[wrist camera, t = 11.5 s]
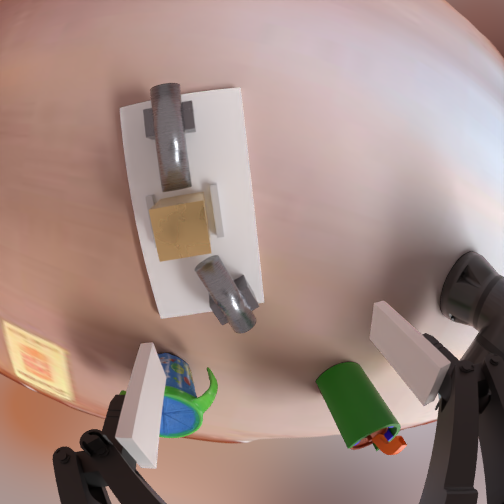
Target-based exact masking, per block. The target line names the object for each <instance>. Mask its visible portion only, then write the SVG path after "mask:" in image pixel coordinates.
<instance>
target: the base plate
mask: <svg viewBox="0 0 504 504" xmlns="http://www.w3.org/2000/svg"><path fill="white" fill-rule="evenodd" d="M181 100H182V102H185V101H191V100H192V103H193V109H194V118H195V127H196V132H192V133H186V134H185V137H186V145H187V153H188V161H189V168H190V176H191V183H192V187H189V188H185V189H180V190H175V191H168V192H162V187H161V180H160V174H159V167H158V160H157V152H156V144H155V139H154V140H152V139H149V138H146V134H145V124H144V114H143V110H144V109H148V108H152V107H151V100H150V101H145V102H141V103H137V104H133V105H129V106H125V107H121V108H120V119H121V129H122V139H123V147H124V155H125V163H126V169H127V176H128V182H129V188H130V194H131V200H132V205H133V210H134V216H135V220H136V225H137V230H138V235H139V239H140V244H141V248H142V252H143V256H144V260H145V264H146V268H147V272H148V276H149V280H150V283H151V287H152V291H153V294H154V298H155V301H156V304H157V308H158V311H159V314H160V317H161V319H163V318H170V317H178V316H185V315H192V314H198V313H205V312H211V311H212V310H211V308H210V305H209V292H208V291H207V289H206V288H205V286H204V285H203V283H202V282H201V280H200V278H199V277H198V275H197V274H196V272H195V267H196V266H197V265H198V264H199V263H200V262H202V261H203V260H205V259H206V258H208V257H211V256H214V255H218V256H219V257H220V259H221V261H222V262H223V264H224V266H225V267H226V269H227V271H228V272H229V274H230V276H231V278H232V279H233V280H235V279H237V278H239V277H241V276H243V275H244V276H245V278H246V280H247V282H248V283H249V285H250V287H251V289H252V290H253V292H254V294H255V297H256V299H257V302H258V303H264V294H263V284H262V275H261V265H260V256H259V247H258V237H257V228H256V219H255V210H254V200H253V191H252V182H251V174H250V165H249V156H248V147H247V138H246V130H245V121H244V112H243V104H242V95H241V87H238V88H227V89H217V90H209V91H201V92H194V93H187V94H181ZM198 192H204V198H205V205H206V212H207V218H208V225H209V231H210V241H211V252H212V253H211V254H205V255H199V256H192V257H186V258H180V259H174V260H168V261H162V262H160V261H159V257H158V252H157V248H156V243H155V238H154V234H153V229H152V224H151V219H150V214H149V209H150V208H151V207H152V206H154V205H155V204H156V203H157V202H158V201H159V200H160V199H163V198H169V197H174V196H180V195H186V194H192V193H198Z"/></svg>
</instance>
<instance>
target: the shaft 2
mask: <svg viewBox="0 0 504 504" xmlns="http://www.w3.org/2000/svg"><path fill="white" fill-rule="evenodd" d="M195 272H196V274H197V275H198V277H199V278H200V280H201V282H202V283H203V285H204V286H205V288H206V289H207V291H208V292H209V305H210V308H211V310H212V311H213V313H214V314H215V315H216V317H217V318H218V320H219V321H220V323H221V324H222V325H224V324H226V323H228V322H229V324H230V325H231V327H232V328H233V330H234V331H235V332H236V333H244V332H247V331H249V330H250V329H251V328H252V327H253V326H254V325H255V323H256V317H255V316H254V314H253V313H252V310H254V309H256V308H258V307H259V305H258V302H257V299H256V297H255V294H254V292H253V290H252V289H251V287H250V285H249V283H248V282H247V280H246V278H245V276H244V275H243V276H241V277H239V278H237V279H235V280H233V279H232V278H231V276H230V274H229V272H228V271H227V269H226V267H225V266H224V264H223V262H222V261H221V259H220V257H219V256H218V255H214V256H211V257H208V258H206V259H205V260H203V261H202V262H200V263H199V264H198V265H197V266H196V267H195Z"/></svg>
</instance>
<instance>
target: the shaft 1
mask: <svg viewBox="0 0 504 504" xmlns="http://www.w3.org/2000/svg"><path fill="white" fill-rule="evenodd" d="M150 95H151V107H152V108H148V109H144V110H143V114H144V124H145V134H146V138H149V139H152V140H154V139H155V144H156V152H157V160H158V167H159V174H160V180H161V187H162V192H168V191H175V190H180V189H185V188H189V187H192V183H191V176H190V168H189V161H188V153H187V145H186V137H185V134H186V133H192V132H196V127H195V118H194V109H193V103H192V100H191V101H185V102H182V100H181V90H180V84H177V83H166V84H161V85H157V86H155V87H153V88H151V89H150Z"/></svg>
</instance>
